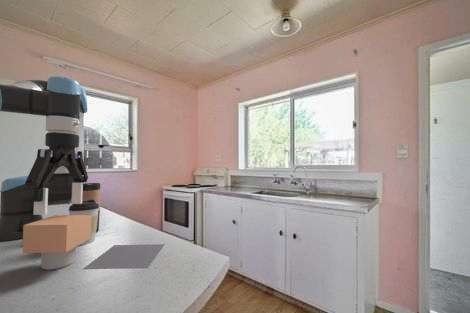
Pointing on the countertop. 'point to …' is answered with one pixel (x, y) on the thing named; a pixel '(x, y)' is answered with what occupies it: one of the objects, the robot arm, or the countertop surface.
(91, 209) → the coffee cup
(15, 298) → the countertop surface
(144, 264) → the mat
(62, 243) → the orange block
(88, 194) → the travel mug
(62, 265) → the white soda can
